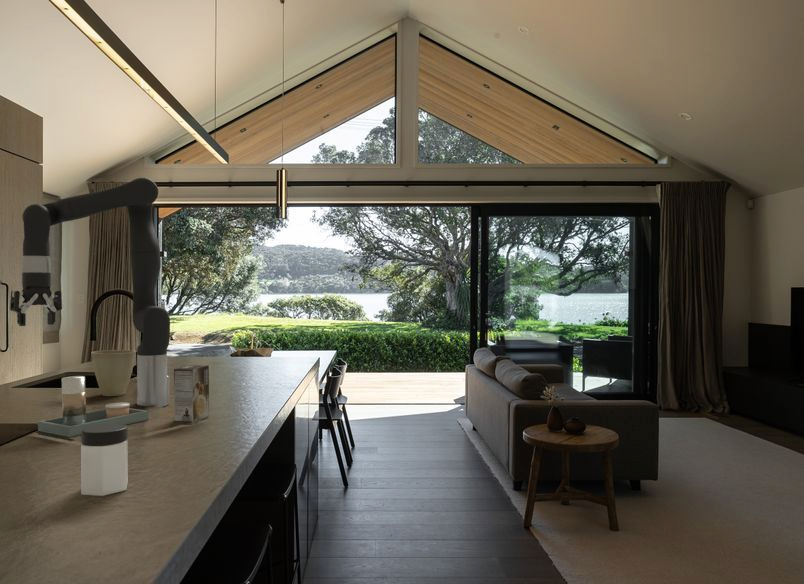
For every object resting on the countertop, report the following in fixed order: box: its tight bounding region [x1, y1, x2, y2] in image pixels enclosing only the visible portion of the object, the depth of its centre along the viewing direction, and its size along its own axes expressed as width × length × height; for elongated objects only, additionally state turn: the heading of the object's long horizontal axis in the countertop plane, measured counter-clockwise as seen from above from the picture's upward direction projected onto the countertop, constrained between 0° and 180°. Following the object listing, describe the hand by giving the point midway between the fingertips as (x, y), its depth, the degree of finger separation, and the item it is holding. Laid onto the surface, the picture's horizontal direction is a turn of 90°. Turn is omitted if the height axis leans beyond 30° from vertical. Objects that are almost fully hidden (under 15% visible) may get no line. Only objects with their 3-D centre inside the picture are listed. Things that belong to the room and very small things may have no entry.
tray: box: [37, 407, 150, 442], centre depth 174 cm, size 24×14×4 cm, turn 150°
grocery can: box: [61, 375, 87, 426], centre depth 169 cm, size 6×6×14 cm
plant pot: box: [90, 349, 137, 397], centre depth 229 cm, size 15×15×16 cm
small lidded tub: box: [105, 401, 131, 419], centre depth 180 cm, size 6×6×5 cm
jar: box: [80, 424, 129, 497], centre depth 121 cm, size 9×8×12 cm
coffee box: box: [173, 364, 210, 426], centre depth 183 cm, size 9×6×16 cm
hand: (36, 325), depth 187 cm, fingers open, 8 cm apart
